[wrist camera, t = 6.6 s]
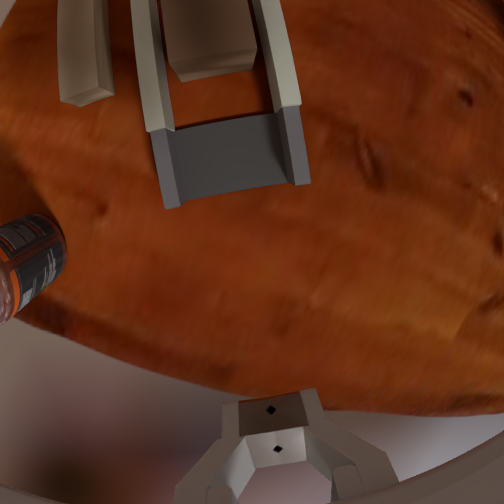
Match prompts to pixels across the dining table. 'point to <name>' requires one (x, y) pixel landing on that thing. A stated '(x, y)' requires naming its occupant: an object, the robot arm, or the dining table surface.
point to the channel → (225, 132)
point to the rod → (84, 51)
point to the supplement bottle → (28, 261)
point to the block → (208, 37)
